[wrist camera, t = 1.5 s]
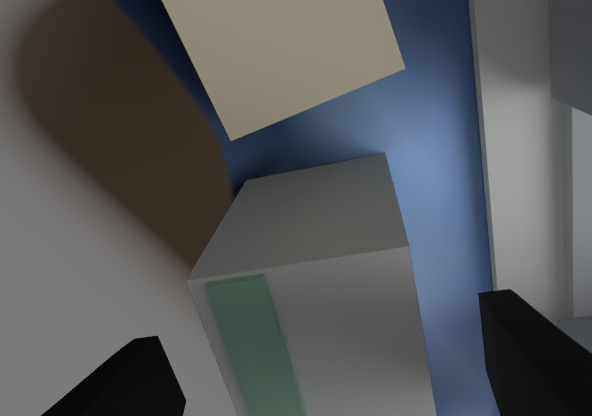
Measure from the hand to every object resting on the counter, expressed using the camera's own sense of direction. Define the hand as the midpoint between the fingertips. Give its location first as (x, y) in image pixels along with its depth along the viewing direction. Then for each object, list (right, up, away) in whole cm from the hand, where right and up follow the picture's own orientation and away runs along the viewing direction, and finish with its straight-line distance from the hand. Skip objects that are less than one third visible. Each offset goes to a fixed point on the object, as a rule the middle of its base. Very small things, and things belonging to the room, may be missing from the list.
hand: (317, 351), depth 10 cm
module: (+1, +2, +5) cm, 6 cm away
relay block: (0, +9, +3) cm, 9 cm away
